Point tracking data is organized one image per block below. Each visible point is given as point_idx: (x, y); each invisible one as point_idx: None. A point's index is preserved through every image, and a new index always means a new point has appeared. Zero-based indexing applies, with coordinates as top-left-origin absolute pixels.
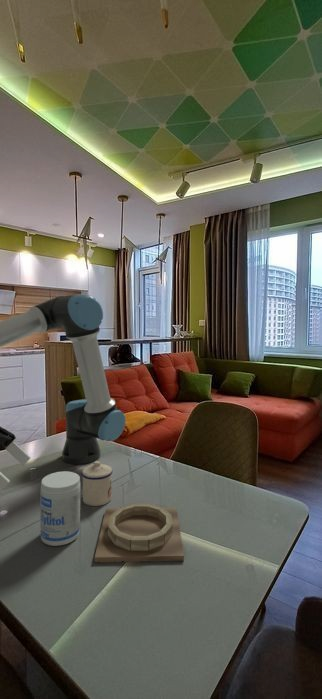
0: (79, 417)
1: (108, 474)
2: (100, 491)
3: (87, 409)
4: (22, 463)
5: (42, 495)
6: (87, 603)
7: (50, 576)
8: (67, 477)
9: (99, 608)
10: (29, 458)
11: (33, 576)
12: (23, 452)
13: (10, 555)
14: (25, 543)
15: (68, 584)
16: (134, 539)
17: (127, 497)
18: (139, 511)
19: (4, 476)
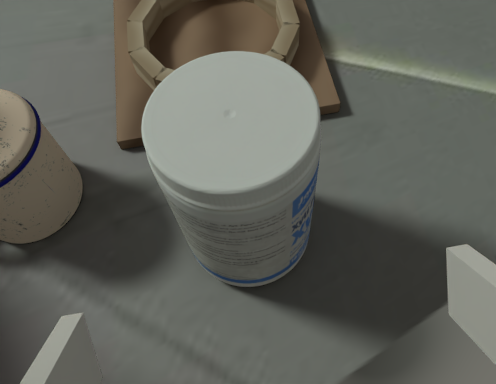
0: None
1: (11, 92)
2: (59, 146)
3: None
4: (96, 379)
5: (305, 186)
6: (454, 88)
7: (412, 185)
8: (209, 95)
9: (456, 67)
10: (81, 318)
11: (426, 225)
12: (58, 357)
13: (370, 338)
14: (305, 322)
15: (421, 138)
16: (295, 17)
17: None
18: (147, 48)
19: (479, 266)
